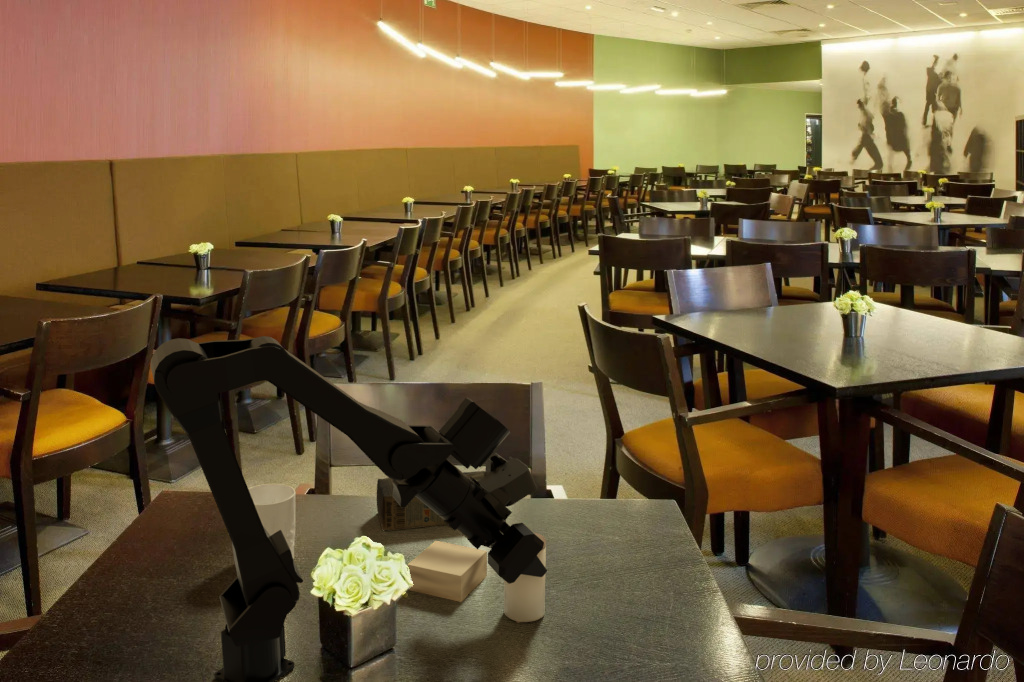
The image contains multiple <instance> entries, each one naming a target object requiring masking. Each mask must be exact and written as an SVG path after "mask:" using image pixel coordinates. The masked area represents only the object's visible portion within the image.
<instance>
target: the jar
mask: <svg viewBox="0 0 1024 682" xmlns="http://www.w3.org/2000/svg"><path fill="white" fill-rule="evenodd" d="M534 533H535V534H536V535H537V536H538V537H539V538H540V539H541V540H542V541H543V542H544V545H543V549H542V550H541V551H540V552H539V553H538V555H537V556H538V558H539V559H540V561H541V562H542V564H543V565H544V566H545V567H546V556H547V555H546V554H547V552H546V551H547V540H546V538H545V536H543V535H542V534H540V533H538V532H537V533H536V532H534ZM503 581H504V583H503V584H504V586H503V587H504V588H503V589H504V590H503V591H504V592H503V593H504V594H503V598H504V599H503V600H504V601H503V612H504V615H505V616H506V617H507V618H508V619H510V620H512V621H515V622H516V624H519V623H528V622H530V623H531V622H535V621H538V620H539V619H542V618H543V617H544V615H545V612H546V610H545V609H546V607H545V606H546V574H545V575H544V576H543V577H536V576H529V575H523V574H521V575H520V576H519V577H518V578H517V580H516V581H515V582H513V583H510V584H509V583H507V582H506V581H505V580H504V579H503Z"/></svg>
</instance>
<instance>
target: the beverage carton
mask: <svg viewBox="0 0 1024 682" xmlns="http://www.w3.org/2000/svg"><path fill="white" fill-rule="evenodd" d="M462 472H463V471H462ZM484 472H486V470H480V471H479V470H478V471H469V472H467V471H466V472H465V471H464V472H463V473H464V474H465V475H466V476H468V477H470V476H472V477H473V478H474V479H475V480H477V481H479V480H481V479H482V478H483V477H485V475H484ZM392 480H393V479H391V478H389V477H386V478H378V479H377V480H376V481H377V483H376V509H377V514H378V518H379V519H378V520H379V523H380V526H381V530H382V529H383V530H391V531H398V530H399V529H401V530H408V529H418V528H428V527H429V528H430V527H439V526H438V525H440V526H449V525H448V524H447V523H446V522H445V521H444V520H443V519H442V518H441V517H440V516H439V515H437V514H436V513H435V512H434V511H433V510H431V509H430V508H429V507H428V506H426V505H425V504H424V503H423V502H421V501H420V500H419V499H418V498H417V497H414V498H413V499H412V501H411V502H410V503H409V504H408V505H407V506H406V507H405V508H402V507H401V506H400V505H399V504H398V503H397V501H396V500H395V499H394V498H393V488H394V486H393V483H392ZM383 530H382V531H383ZM399 531H400V530H399Z"/></svg>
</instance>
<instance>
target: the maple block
mask: <svg viewBox="0 0 1024 682" xmlns="http://www.w3.org/2000/svg"><path fill="white" fill-rule="evenodd" d="M487 552H488V551H487V550H485V549H477V548H475V547H470V546H463V545H460V544H454V543H449V542H445V541H438V540H434V542H433V543H431V544H430V545H429V546H428V547H426V548H425V549H423V551H422V552H420V553H419V554H418V555H417V556H416V557H414V558H413V559H412V560H411V561H410V562H409V563H407V566H408V567H409V569H410V574H411V578H412V581H413V584H414V585H413V587H411V588H410V589H409V590H408V591H411V592H416V593H420V594H424V595H429V596H433V597H436V598H437V597H438V598H443V599H446V600H449V601H450V600H451V601H455V602H460V603H462V602H463V601H464V600H465V599H466V598H467V596H469V595H468V594H471V592H473V590H474V589H475V588H477V586H478V585H479V584H480V583H481V582H482V581H483V580H484V579H486V577H487V575H488V565H487V564H488V553H487Z"/></svg>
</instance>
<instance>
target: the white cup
mask: <svg viewBox="0 0 1024 682" xmlns="http://www.w3.org/2000/svg"><path fill="white" fill-rule="evenodd" d="M248 490H249V492H250V495H251V497H252V500H253V502H254V505H255V507H256V510H257V512H258V515H259V517H260V520H261V522H262V525H263V526H264V528H265V529H266V530H267V532H268V533H269V535H270V536H271V535H273V534H274V533H276V532H277V531H279V530H281V531H282V533H283V535H284V537H285V539H286V541H287V543H288V546H289V548H290V550H291V553H292V557H293V560H294V559H295V539H296V490H295V488H294V487H292V486H290V485H288V484H283V483H263V484H258V485H253V486H251V487H248Z"/></svg>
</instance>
